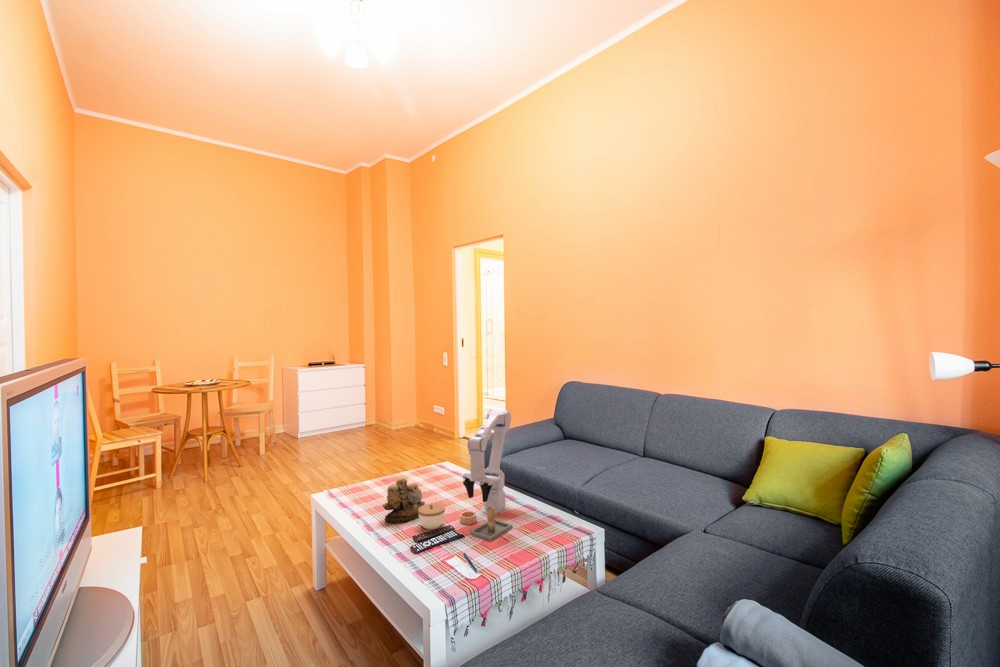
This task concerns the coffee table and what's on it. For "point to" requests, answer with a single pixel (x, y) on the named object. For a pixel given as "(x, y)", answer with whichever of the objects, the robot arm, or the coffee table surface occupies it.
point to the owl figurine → (403, 502)
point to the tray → (484, 534)
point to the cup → (468, 517)
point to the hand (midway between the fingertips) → (478, 499)
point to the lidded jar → (431, 515)
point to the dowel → (491, 519)
